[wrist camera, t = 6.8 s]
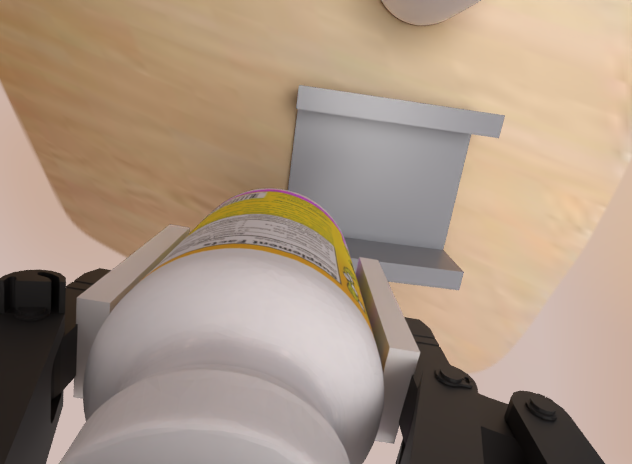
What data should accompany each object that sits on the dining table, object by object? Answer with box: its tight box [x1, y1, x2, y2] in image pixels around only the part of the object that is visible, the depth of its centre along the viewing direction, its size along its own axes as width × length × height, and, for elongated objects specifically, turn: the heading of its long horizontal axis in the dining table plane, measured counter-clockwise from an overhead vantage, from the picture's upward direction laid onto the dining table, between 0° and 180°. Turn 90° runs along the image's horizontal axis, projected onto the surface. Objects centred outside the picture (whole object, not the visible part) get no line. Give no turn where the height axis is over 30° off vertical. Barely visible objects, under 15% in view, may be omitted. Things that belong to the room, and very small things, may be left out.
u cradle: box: [288, 85, 505, 290], centre depth 32 cm, size 13×14×6 cm
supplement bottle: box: [59, 188, 384, 464], centre depth 12 cm, size 7×7×13 cm
